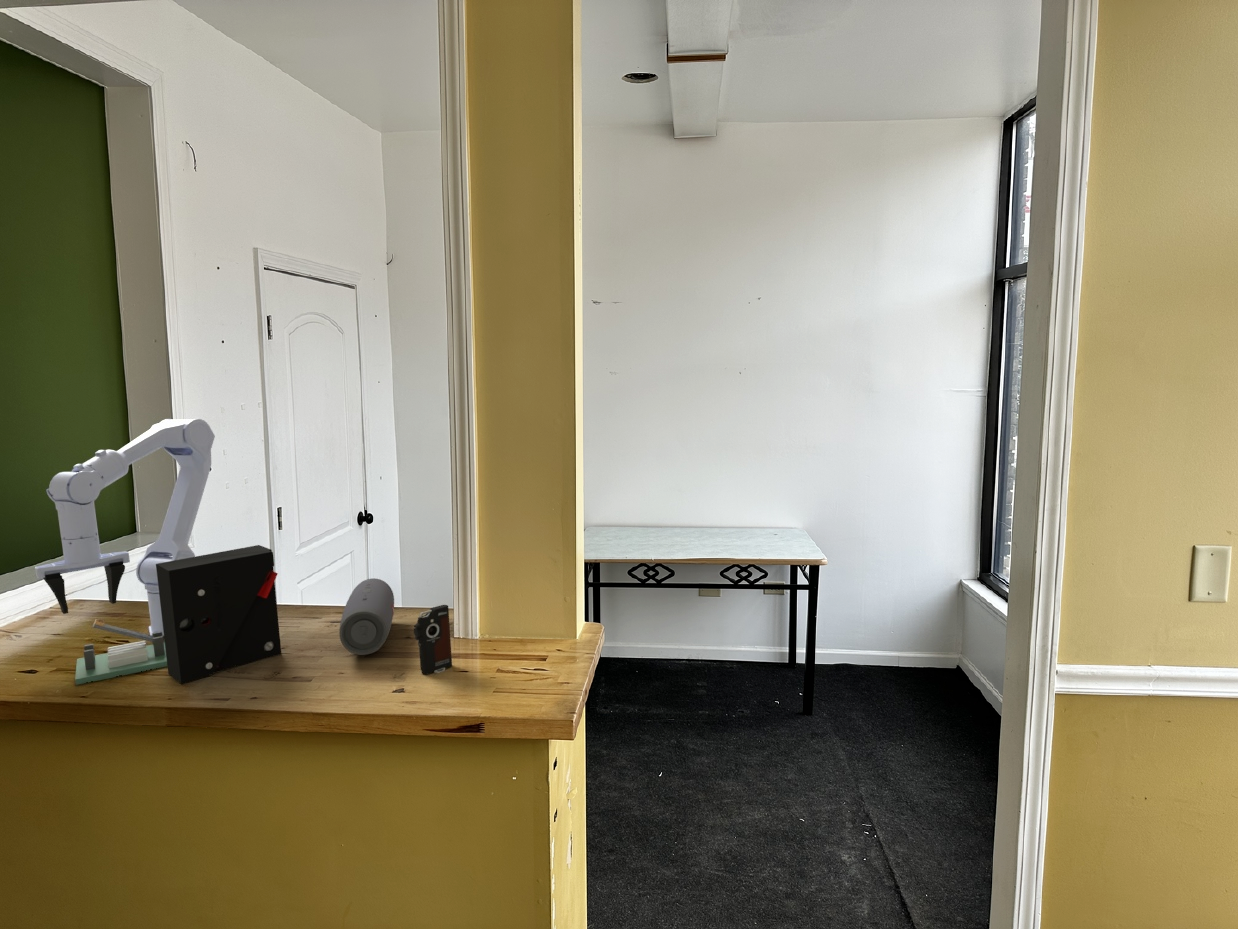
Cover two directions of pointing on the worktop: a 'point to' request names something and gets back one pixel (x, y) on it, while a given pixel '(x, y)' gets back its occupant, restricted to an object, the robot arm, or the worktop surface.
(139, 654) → the heatsink base
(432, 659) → the camera
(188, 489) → the robot arm
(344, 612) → the bluetooth speaker
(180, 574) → the electrical component
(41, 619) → the worktop surface
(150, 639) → the bar
